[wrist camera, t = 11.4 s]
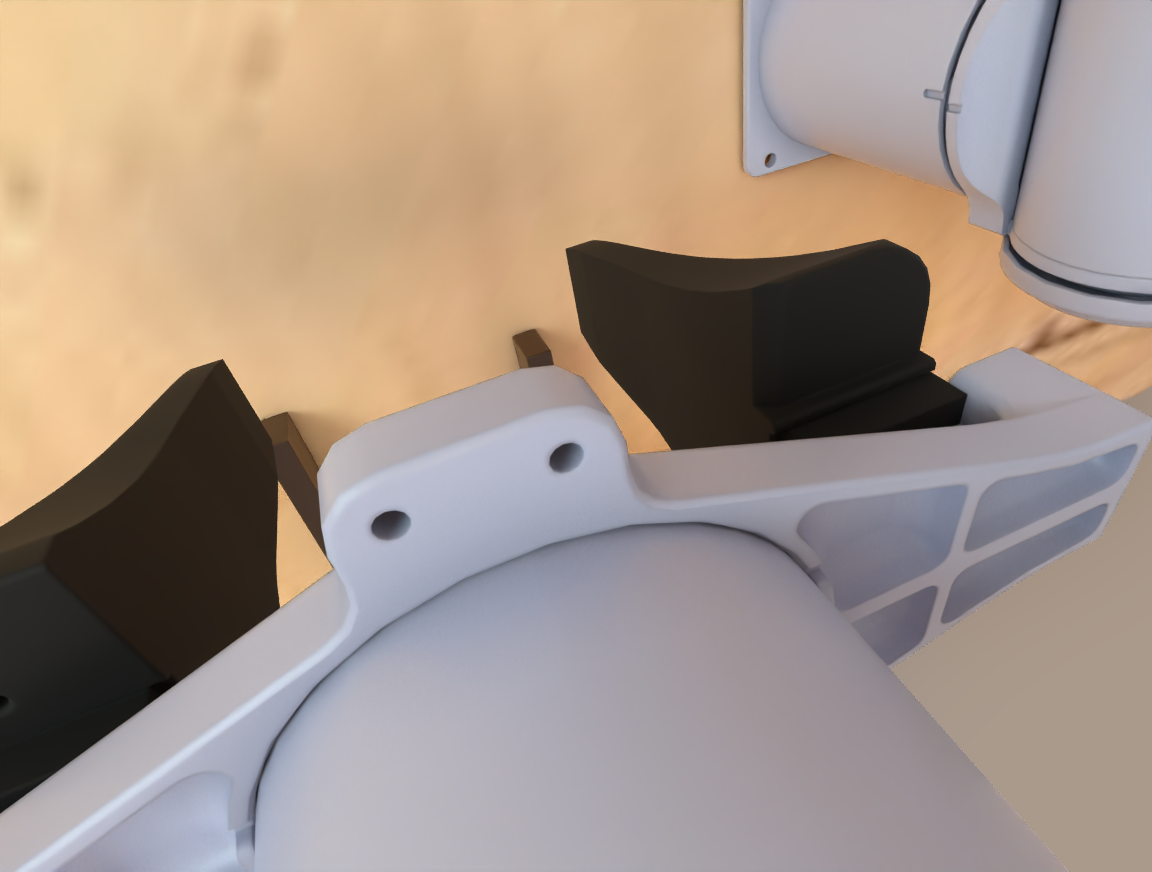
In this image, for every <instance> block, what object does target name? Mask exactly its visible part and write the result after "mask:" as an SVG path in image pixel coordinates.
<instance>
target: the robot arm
mask: <svg viewBox="0 0 1152 872" xmlns="http://www.w3.org/2000/svg"><path fill="white" fill-rule="evenodd" d="M769 154H770V160H769V162H768V163H767V164H766V165H765V158H766V157H767V155H769ZM829 154H836V155H839V156H842V157H845V158H849V159H852V160H855V161H858V162H861V163H864V164H867V165H870V166H873V167H877V168H880V169H883V170H886V171H889V172H892V173H895V174H898V175H901V176H905V177H908V178H911V179H914V180H917V181H920V182H923V183H926V184H929V185H933V186H936V187H939V188H942V189H945V190H948V191H951V192H954V193H957V194H961V195H964V196H967V198H968V201H969V219H968V220H969V223H970V224H972V225H975V226H978V227H981V228H984V229H986V230H989V231H992V232H995V233H998V234H1000V235H1003V240H1002V244H1001V248H1000V252H999V258H1000V266H1001V268H1002V270H1003V272H1004V274H1005V275H1006V276H1007V277H1008V278H1009V280H1010V281H1011V282H1012V283H1013V284H1014V285H1016V286H1017V287H1018V288H1020V289H1021V290H1023V291H1024V292H1025V293H1027V294H1028V295H1030V296H1032V297H1034V298H1036V299H1037V300H1039V301H1040V302H1042V303H1044V304H1045V305H1047V306H1049V307H1051V308H1054V309H1056V310H1058V311H1061V312H1063V313H1066V314H1069V315H1072V316H1075V317H1079V318H1082V319H1086V320H1090V321H1095V322H1100V323H1106V324H1112V325H1119V326H1129V327H1144V328H1152V0H743V167H744V171H745V172H746V174H749V175H751V176H753V177H759V176H762V175H765V174H768V173H772V172H775V171H778V170H781V169H784V168H788V167H791V166H794V165H797V164H801V163H804V162H807V161H810V160H813V159H817V158H820V157H823V156H826V155H829ZM566 254H567V260H568V265H569V270H570V276H571V281H572V286H573V292H574V297H575V302H576V308H577V313H578V318H579V324H580V329H581V333H582V334H583V336H584V338H585V339H586V341H587V343H588V344H589V346H590V348H591V349H592V351H593V352H594V354H595V356H596V357H597V359H598V360H599V362H600V363H601V364H602V365H603V367H604V368H605V369H606V370H607V371H608V373H609V374H610V375H611V376H612V377H613V378H614V379H615V381H616V382H617V383H618V384H619V385H620V386H621V387H622V389H623V390H624V391H625V392H626V393H627V394H628V395H629V397H630V398H631V399H632V400H633V401H634V402H635V403H636V404H637V406H638V407H639V408H640V409H641V410H642V411H643V412H644V414H645V415H646V416H647V417H648V418H649V419H650V420H651V422H652V423H653V424H654V426H655V427H656V428H657V429H658V431H659V432H660V433H661V435H662V436H663V438H664V439H665V441H666V442H667V444H668V445H669V447H670V448H671V450H672V451H661V452H649V453H638V454H628V450H627V443H626V440H625V439H624V437H623V435H622V433H621V431H620V429H619V428H618V426H617V424H616V422H615V420H614V418H613V417H612V415H611V414H610V413H609V411H608V410H607V409H606V407H605V406H604V405H603V404H602V402H601V401H600V400H599V398H598V397H597V396H596V394H595V393H594V392H593V390H592V389H591V388H590V386H589V385H588V384H587V383H586V381H585V380H584V379H583V378H582V377H580V376H578V375H576V374H574V373H571V372H569V371H567V370H565V369H563V368H560V367H558V366H556V365H551V366H542V367H533V368H524V369H518V370H515V371H513V372H510V373H507V374H504V375H501V376H498V377H496V378H493V379H490V380H487V381H484V382H481V383H479V384H476V385H473V386H470V387H467V388H464V389H462V390H459V391H456V392H453V393H450V394H447V395H445V396H442V397H439V398H436V399H433V400H430V401H428V402H425V403H422V404H419V405H416V406H413V407H410V408H408V409H405V410H402V411H399V412H396V413H393V414H391V415H388V416H385V417H382V418H379V419H376V420H374V421H371V422H368V423H365V424H364V425H362V426H361V427H359V428H357V429H356V430H354V431H353V432H351V433H350V434H348V435H346V436H345V437H343V438H342V439H340V440H338V441H337V442H335V443H334V444H333V445H332V446H331V448H330V450H329V452H328V454H327V456H326V458H325V460H324V462H323V463H322V465H321V467H320V469H319V471H318V473H317V481H318V493H319V505H320V517H321V528H322V533H323V538H324V543H325V548H326V554H327V558H328V560H329V561H330V563H331V564H332V566H333V567H334V569H332V570H331V571H330V572H328V573H327V574H326V575H324V576H323V577H322V578H320V579H319V580H318V581H316V582H315V583H313V584H312V585H311V586H309V587H308V588H307V589H305V590H304V591H303V592H301V593H300V594H298V595H297V596H296V597H294V598H293V599H292V600H290V601H289V602H288V603H286V604H285V605H283V606H282V607H281V608H280V604H279V596H278V587H277V572H276V550H277V513H278V475H277V467H276V460H275V455H274V449H273V444H272V439H271V437H270V436H269V434H268V432H267V431H266V429H265V428H264V426H263V424H262V423H261V421H260V419H259V418H258V416H257V414H256V413H255V411H254V410H253V408H252V406H251V405H250V403H249V401H248V400H247V398H246V396H245V395H244V393H243V391H242V390H241V388H240V387H239V385H238V383H237V382H236V380H235V378H234V377H233V375H232V373H231V372H230V370H229V369H228V367H227V365H226V364H225V362H224V360H223V359H221V360H218V361H215V362H212V363H209V364H206V365H203V366H200V367H196V368H193V369H190V370H189V371H187V372H186V373H185V374H183V375H182V376H181V377H180V378H179V379H178V380H177V381H175V382H174V383H173V384H172V385H171V386H170V387H169V388H168V389H167V390H166V391H165V392H164V393H163V394H162V395H161V397H160V398H159V399H158V400H157V401H156V402H155V403H154V404H153V405H152V406H151V407H150V408H149V409H148V410H147V411H146V412H145V413H144V414H143V415H142V416H141V417H140V418H139V419H138V420H137V421H136V422H135V423H134V424H133V425H132V426H131V427H130V428H129V429H128V430H127V431H126V432H125V433H124V434H123V435H122V436H120V437H119V438H118V439H117V440H116V441H115V442H114V443H113V444H112V445H111V446H110V447H109V448H108V449H107V450H106V451H105V452H104V453H102V454H101V455H100V456H99V457H98V458H97V459H95V460H94V461H93V462H92V463H91V464H90V465H88V466H87V467H86V468H85V469H83V470H82V471H81V472H80V473H78V474H77V475H76V476H74V477H73V478H72V479H70V480H69V481H68V482H67V483H65V484H64V485H63V486H61V487H60V488H59V489H57V490H56V491H54V492H53V493H52V494H50V495H49V496H47V497H46V498H44V499H43V500H41V501H39V502H38V503H36V504H35V505H33V506H32V507H30V508H29V509H27V510H26V511H24V512H23V513H21V514H20V515H18V516H17V517H15V518H14V519H12V520H11V521H9V522H8V523H6V524H4V525H3V526H1V527H0V872H1069V871H1068V870H1067V869H1066V868H1065V866H1064V865H1063V864H1062V863H1061V862H1060V861H1059V859H1057V857H1056V856H1055V855H1054V854H1053V853H1052V852H1051V850H1050V849H1049V848H1048V847H1047V846H1046V845H1045V844H1044V842H1043V841H1042V840H1041V839H1040V838H1039V837H1038V836H1037V835H1036V834H1035V832H1034V831H1033V830H1032V829H1031V828H1030V827H1029V826H1028V824H1027V823H1026V822H1025V821H1024V820H1023V819H1022V818H1021V817H1020V815H1019V814H1018V813H1017V812H1016V811H1015V810H1014V809H1013V807H1012V806H1011V805H1010V804H1009V803H1008V802H1007V801H1006V800H1005V799H1004V797H1003V796H1002V795H1001V794H1000V793H999V792H998V790H997V789H996V788H995V787H994V786H993V785H992V784H991V783H990V781H989V780H988V779H987V778H986V777H985V776H984V775H983V773H982V772H981V771H980V770H979V769H978V768H977V767H976V766H975V764H974V763H973V762H972V761H971V760H970V759H969V758H968V757H967V755H966V754H965V753H964V752H963V751H962V750H961V749H960V748H959V746H958V745H957V744H956V743H955V742H954V741H953V740H952V738H951V737H950V736H949V735H948V734H947V733H946V732H945V730H944V729H943V728H942V727H941V726H940V725H939V724H938V723H937V722H936V720H935V719H934V718H933V717H932V716H931V715H930V714H929V712H928V711H927V710H926V709H925V708H924V707H923V706H922V704H921V703H920V702H919V701H918V700H917V699H916V698H915V696H914V695H913V694H912V693H911V692H910V691H909V690H908V689H907V688H906V686H905V685H904V684H903V683H902V682H901V681H900V680H899V678H898V677H897V676H896V675H895V674H894V673H893V672H892V671H891V669H892V668H893V667H895V666H896V665H898V664H899V663H900V662H902V661H904V660H905V659H906V658H908V657H909V656H911V655H912V654H914V653H915V652H917V651H918V650H920V649H921V648H922V647H924V646H925V645H927V644H928V643H930V642H931V641H932V640H934V639H935V638H937V637H938V636H940V635H941V634H943V633H944V632H946V631H947V630H948V629H950V628H951V627H953V626H954V625H956V624H957V623H959V622H960V621H962V620H963V619H964V618H966V617H967V616H969V615H970V614H972V613H973V612H975V611H976V610H978V609H979V608H981V607H982V606H984V605H985V604H987V603H988V602H990V601H991V600H993V599H994V598H996V597H997V596H999V595H1000V594H1002V593H1003V592H1005V591H1006V590H1008V589H1009V588H1011V587H1013V586H1014V585H1015V584H1017V583H1019V582H1021V581H1022V580H1024V579H1025V578H1027V577H1029V576H1031V575H1032V574H1034V573H1036V572H1038V571H1039V570H1041V569H1043V568H1044V567H1046V566H1048V565H1049V564H1051V563H1052V562H1054V561H1056V560H1058V559H1060V558H1062V557H1064V556H1066V555H1068V554H1070V553H1072V552H1073V551H1075V550H1077V549H1079V548H1081V547H1083V546H1085V545H1087V544H1089V543H1091V542H1093V541H1095V540H1097V539H1099V538H1100V537H1101V536H1102V534H1103V532H1104V530H1105V528H1106V526H1107V524H1108V522H1109V520H1110V518H1111V517H1112V514H1113V513H1114V511H1115V509H1116V507H1117V505H1118V503H1119V501H1120V499H1121V497H1122V495H1123V493H1124V491H1125V489H1126V487H1127V486H1128V484H1129V482H1130V480H1131V478H1132V476H1133V474H1134V472H1135V470H1136V468H1137V466H1138V464H1139V462H1140V460H1141V458H1142V457H1143V455H1144V452H1145V451H1146V449H1147V447H1148V445H1149V443H1150V441H1151V439H1152V417H1151V416H1149V415H1148V414H1146V413H1144V412H1142V411H1139V410H1138V409H1135V408H1134V407H1132V406H1130V405H1128V404H1126V403H1124V402H1122V401H1120V400H1118V399H1116V398H1114V397H1112V396H1110V395H1108V394H1106V393H1104V392H1102V391H1100V390H1098V389H1096V388H1094V387H1092V386H1090V385H1088V384H1086V383H1084V382H1082V381H1080V380H1078V379H1076V378H1074V377H1072V376H1070V375H1068V374H1066V373H1064V372H1063V371H1061V370H1059V369H1057V368H1055V367H1053V366H1051V365H1049V364H1047V363H1045V362H1043V361H1041V360H1039V359H1037V358H1035V357H1033V356H1031V355H1029V354H1027V353H1025V352H1023V351H1021V350H1019V349H1017V348H1015V347H1012V348H1009V349H1006V350H1004V351H1002V352H999V353H997V354H994V355H992V356H989V357H987V358H984V359H982V360H979V361H977V362H974V363H972V364H969V365H967V366H965V367H963V368H961V369H960V370H958V371H957V372H956V373H955V374H954V375H953V376H952V377H951V378H950V380H949V382H946V381H945V380H943V379H942V378H940V377H938V376H937V375H935V374H933V373H932V372H930V371H933V370H935V366H936V362H935V360H934V358H932V357H930V356H929V355H927V354H925V353H923V352H922V351H920V346H921V341H922V336H923V331H924V326H925V321H926V316H927V311H928V306H929V296H930V279H929V274H928V270H927V267H926V266H925V264H924V263H923V261H922V260H921V258H920V257H919V256H918V255H916V254H915V253H913V252H911V251H910V250H908V249H906V248H904V247H902V246H899V245H897V244H895V243H892V242H890V241H888V240H885V239H881V240H876V241H872V242H867V243H863V244H858V245H854V246H849V247H844V248H840V249H835V250H830V251H824V252H817V253H810V254H803V255H795V256H786V257H774V258H755V259H724V258H705V257H694V256H686V255H679V254H671V253H665V252H660V251H654V250H649V249H644V248H639V247H634V246H629V245H624V244H619V243H613V242H607V241H599V240H592V241H588V242H585V243H582V244H579V245H576V246H573V247H570V248H567V249H566Z"/></svg>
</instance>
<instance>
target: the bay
mask: <svg viewBox="0 0 1152 872" xmlns="http://www.w3.org/2000/svg"><path fill="white" fill-rule="evenodd" d="M513 341H514V345H515V349H516V353H517V357H518V361H519V365H520V369H524V368H533V367H542V366H551V365H554V363H553V359H552V354H551V350H550V349H549V348H548V346H547V345H546V344H545V342H544V341H543V340H542V338H541V337H540V335H539V334H538V333H537V331H536V330H535V329H533V330H530V331H527V332H524V333H521V334H518V335H515V336H513ZM261 423H262V424H263V426H264V428H265V429H266V431H267V432H268V434H269V436H270V437H271V439H272V444H273V449H274V455H275V460H276V467H277V475H278V481H279V482H280V484H281V485H282V487H283V489H284V490H285V492H286V493H287V495H288V497H289V498H290V500H291V501H292V503H293V505H294V506H295V508H296V509H297V511H298V513H299V514H300V516H301V518H302V519H303V521H304V522H305V524H306V526H307V527H308V529H309V530H310V532H311V534H312V535H313V537H314V538H315V540H316V542H317V543H318V545H319V546H320V548H321V550H322V551H323V553H324V554H325V556H326V558H327V554H326V548H325V543H324V538H323V533H322V528H321V517H320V505H319V493H318V481H317V473H318V471H319V468H318V466H317V465H316V463H315V461H314V459H313V458H312V456H311V454H310V452H309V450H308V449H307V447H306V445H305V443H304V441H303V440H302V438H301V436H300V434H299V433H298V431H297V429H296V427H295V425H294V424H293V422H292V420H291V418H290V416H289V415H288V413H287V412H286V413H283V414H280V415H277V416H274V417H271V418H268V419H265V420H262V421H261ZM327 559H328V558H327ZM328 561H329V560H328ZM329 562H330V561H329ZM330 564H331V563H330ZM331 566H332V564H331ZM332 567H333V566H332ZM333 569H334V567H333Z"/></svg>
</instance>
